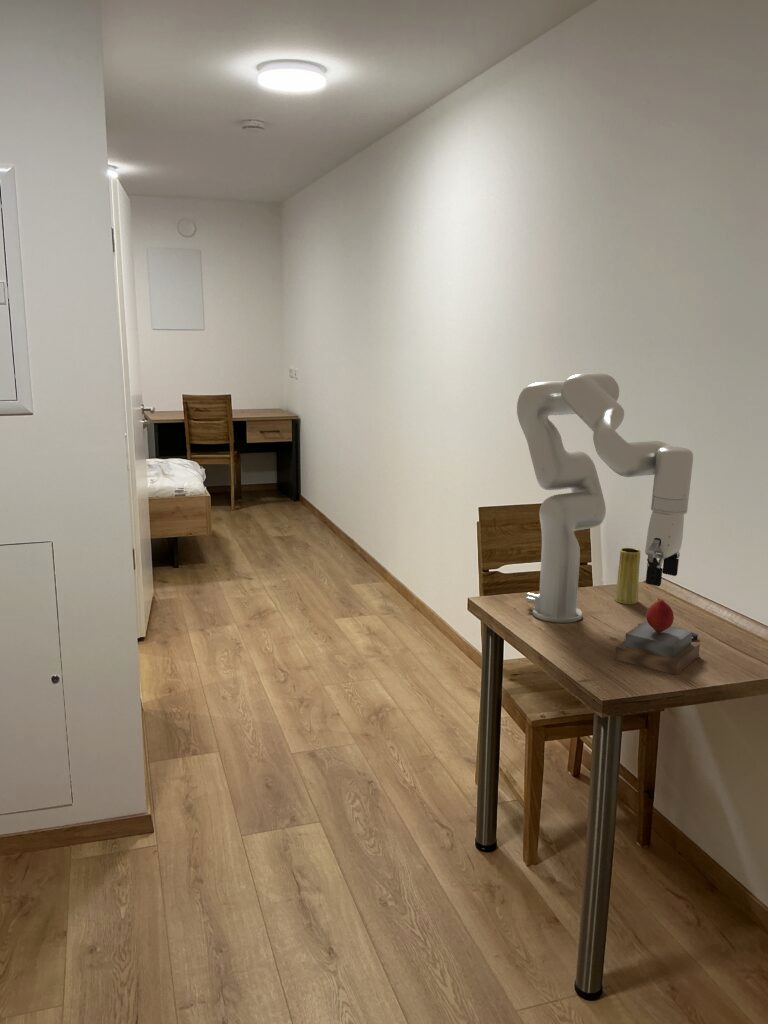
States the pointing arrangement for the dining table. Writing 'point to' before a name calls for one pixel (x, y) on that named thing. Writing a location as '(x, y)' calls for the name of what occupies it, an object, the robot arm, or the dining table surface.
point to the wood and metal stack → (658, 648)
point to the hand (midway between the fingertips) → (661, 579)
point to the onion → (660, 616)
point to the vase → (628, 576)
